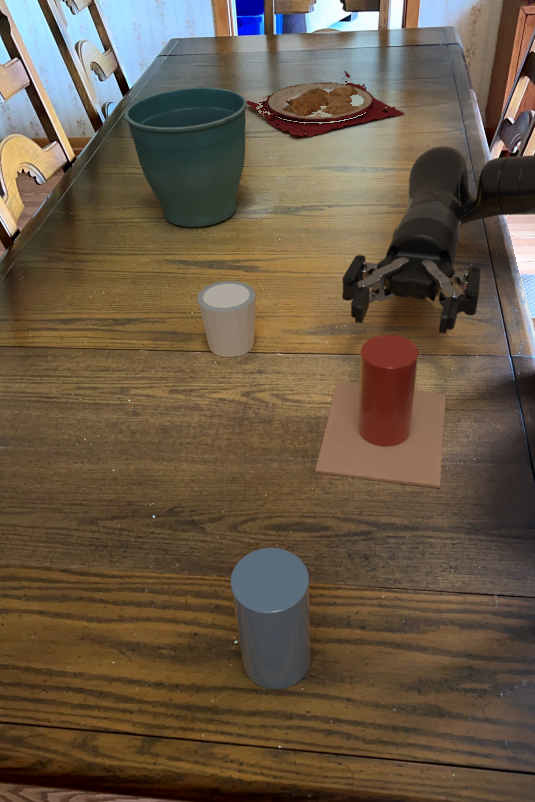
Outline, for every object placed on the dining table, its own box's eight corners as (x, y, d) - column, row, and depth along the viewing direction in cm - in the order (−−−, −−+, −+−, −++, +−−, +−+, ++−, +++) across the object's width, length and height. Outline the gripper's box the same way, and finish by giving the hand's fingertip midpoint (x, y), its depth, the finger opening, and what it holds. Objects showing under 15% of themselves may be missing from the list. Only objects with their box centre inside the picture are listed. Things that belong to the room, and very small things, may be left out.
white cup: (231, 367, 84) (226, 317, 80) (192, 346, 88) (184, 297, 84) (270, 341, 88) (267, 292, 84) (231, 321, 92) (226, 274, 87)
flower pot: (148, 246, 109) (128, 134, 98) (140, 198, 123) (121, 95, 112) (264, 228, 111) (256, 117, 100) (243, 183, 125) (235, 81, 114)
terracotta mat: (445, 395, 78) (446, 392, 78) (439, 488, 68) (440, 485, 68) (336, 385, 81) (336, 382, 81) (315, 473, 70) (315, 470, 70)
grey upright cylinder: (317, 632, 57) (315, 553, 51) (304, 695, 53) (300, 618, 47) (251, 620, 58) (241, 542, 52) (234, 682, 54) (221, 605, 48)
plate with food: (243, 109, 156) (242, 93, 154) (344, 84, 164) (344, 68, 161) (294, 143, 140) (294, 126, 137) (404, 114, 147) (405, 96, 145)
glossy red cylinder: (412, 414, 76) (420, 337, 69) (408, 449, 72) (416, 370, 65) (361, 409, 77) (364, 332, 70) (354, 443, 73) (357, 365, 66)
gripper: (482, 280, 84) (467, 360, 73) (363, 268, 88) (331, 342, 76) (491, 221, 80) (477, 297, 68) (365, 211, 83) (331, 280, 72)
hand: (399, 320), depth 72 cm, fingers open, 8 cm apart
